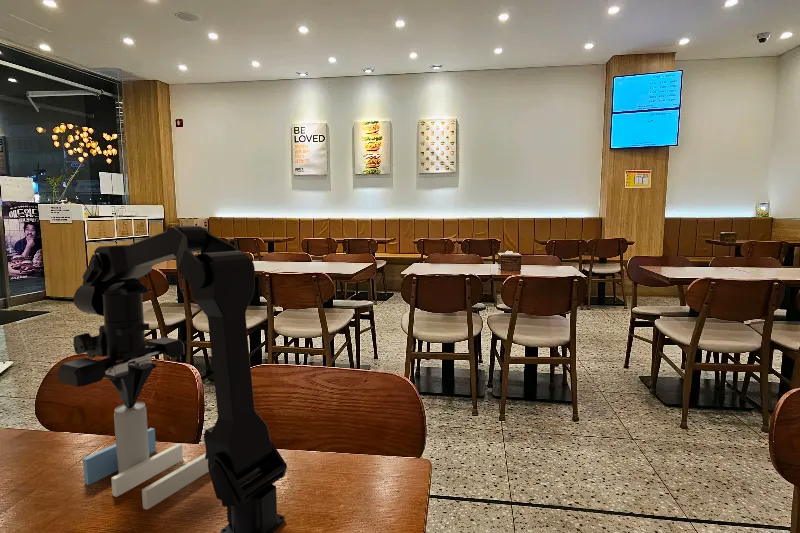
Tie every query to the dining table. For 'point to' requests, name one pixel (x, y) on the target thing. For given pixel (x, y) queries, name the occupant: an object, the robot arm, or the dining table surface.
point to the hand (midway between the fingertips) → (129, 407)
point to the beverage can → (131, 435)
